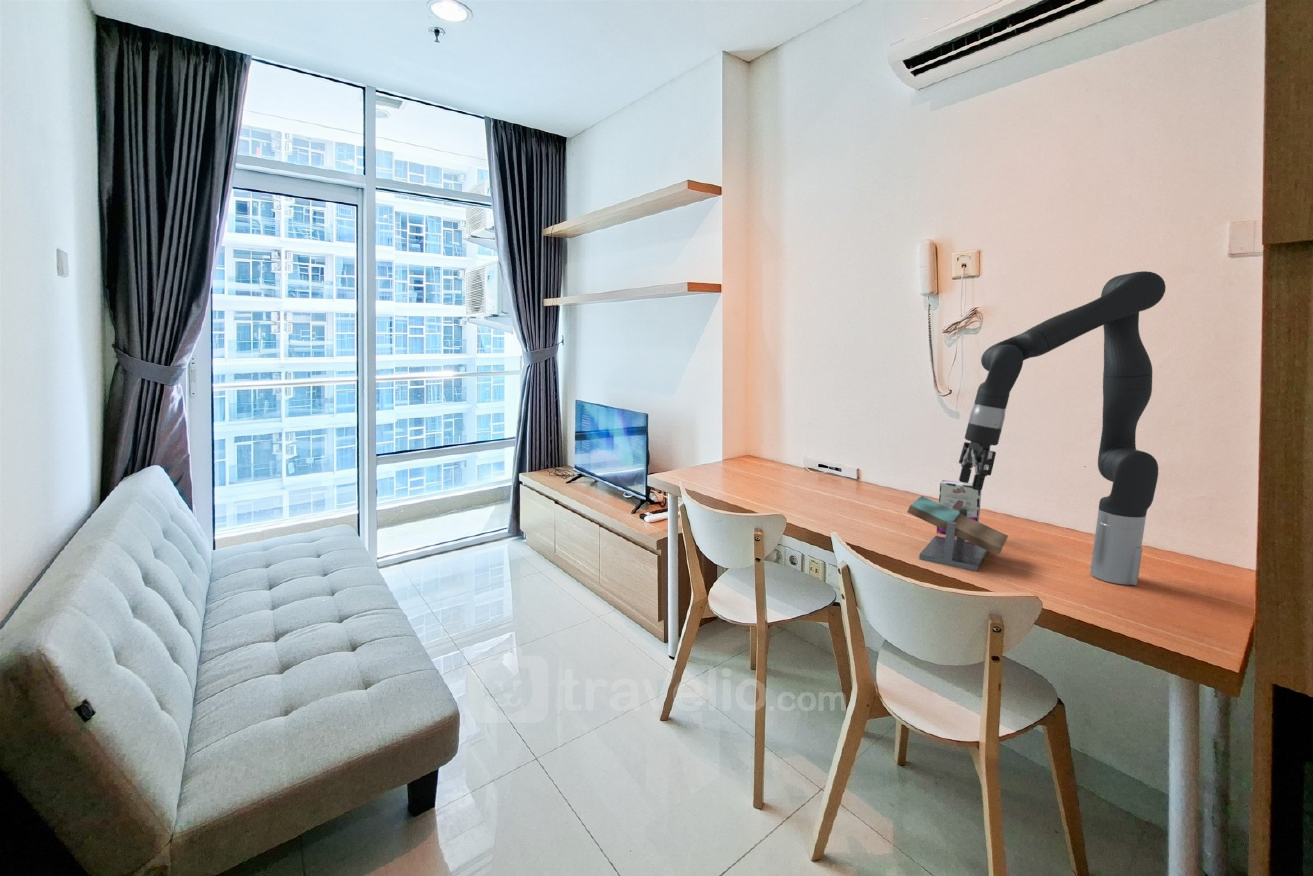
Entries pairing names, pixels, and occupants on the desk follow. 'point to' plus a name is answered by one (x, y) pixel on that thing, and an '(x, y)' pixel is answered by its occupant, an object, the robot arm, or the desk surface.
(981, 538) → the balance beam
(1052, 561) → the desk surface
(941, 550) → the beam stand
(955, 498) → the candy bar box
